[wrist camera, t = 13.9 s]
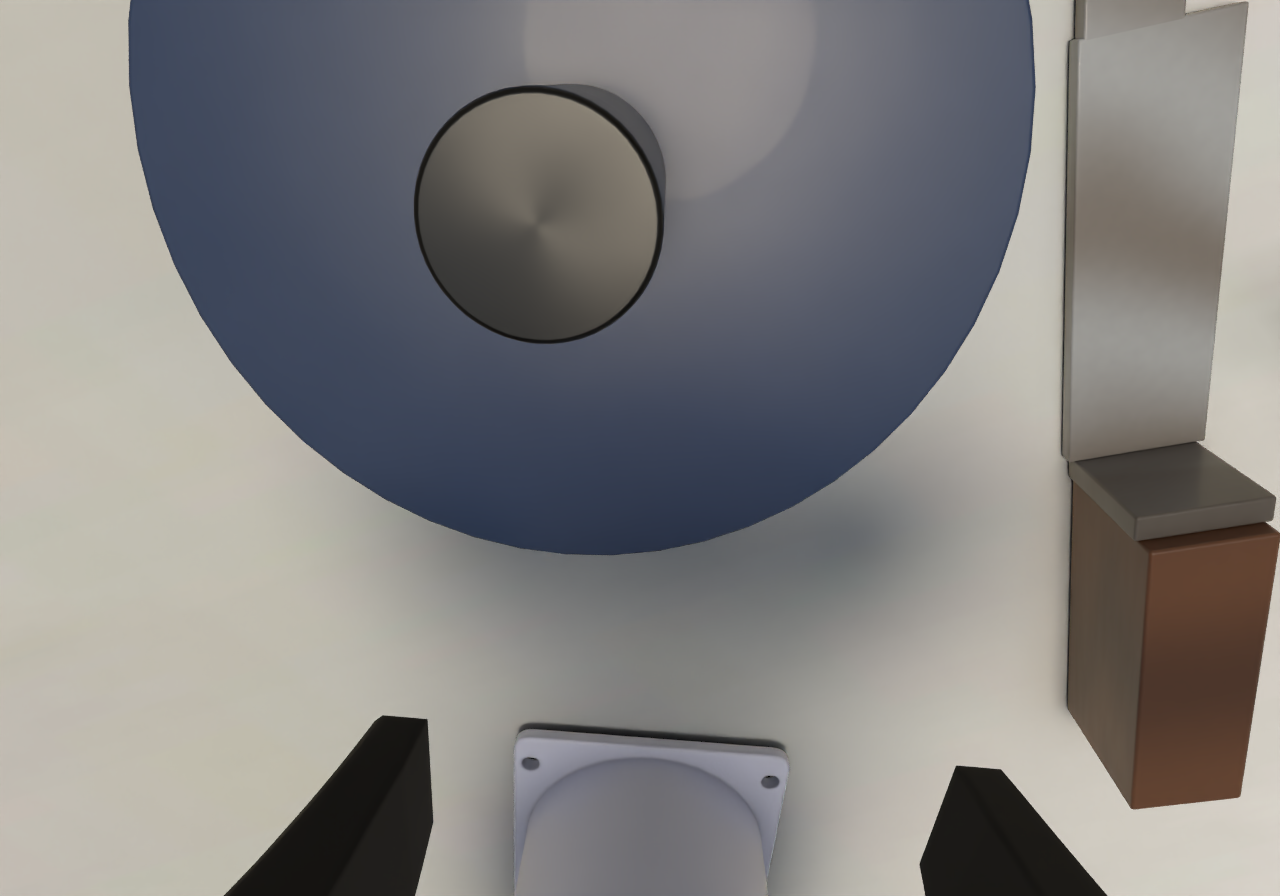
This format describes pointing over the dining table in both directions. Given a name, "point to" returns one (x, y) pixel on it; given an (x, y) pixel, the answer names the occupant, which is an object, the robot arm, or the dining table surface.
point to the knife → (1156, 407)
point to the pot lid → (587, 238)
